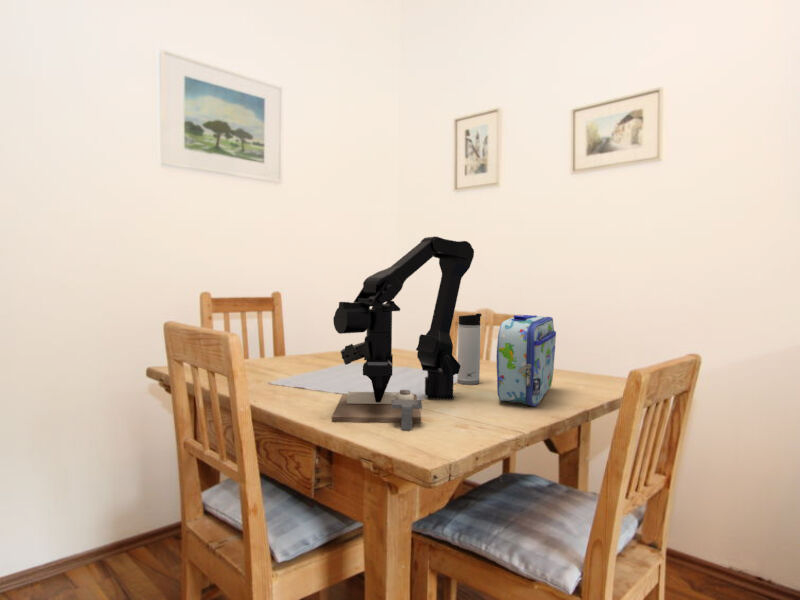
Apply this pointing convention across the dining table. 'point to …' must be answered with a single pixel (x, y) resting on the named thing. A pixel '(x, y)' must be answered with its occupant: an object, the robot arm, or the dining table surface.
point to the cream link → (370, 398)
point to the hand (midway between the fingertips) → (378, 400)
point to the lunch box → (525, 358)
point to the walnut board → (371, 412)
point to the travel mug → (469, 349)
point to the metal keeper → (406, 411)
